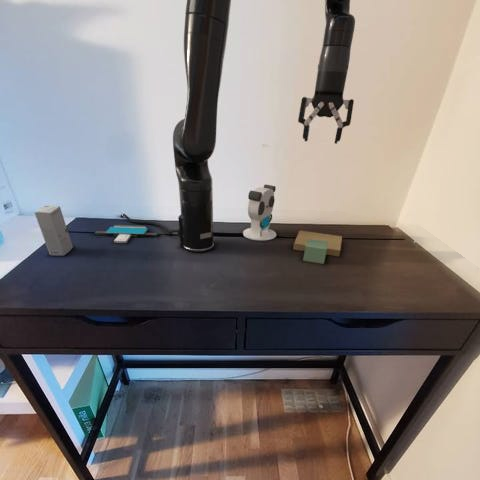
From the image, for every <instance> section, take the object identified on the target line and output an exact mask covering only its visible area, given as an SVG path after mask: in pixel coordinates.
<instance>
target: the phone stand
mask: <svg viewBox="0 0 480 480" xmlns="http://www.w3.org/2000/svg"><path fill="white" fill-rule="evenodd" d="M148 231H149V229H148V228H147V225H133V224H132V225H131V224H113V226H110V227H109V228H108V229H107V230H96V231H94V235H97V236H116V237H115V239H114V240H113V243H114V244H127V243H128V242H129V240H130V239H131V237H145V238H157V237H158V235H159V234H158V232H148Z"/></svg>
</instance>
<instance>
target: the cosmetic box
mask: <svg viewBox="0 0 480 480" xmlns="http://www.w3.org/2000/svg"><path fill="white" fill-rule="evenodd" d="M34 215H35V218H36V221H37V224H38V226H39V229H40V232H41V235H42V237H43V241H44V243H45V245H46V248H47V251H48V254H49V256H53V257H54V256H55V257H64V256H66V255H67V254H68V253H69V252H71V250H72V249H73V248H74V247H73V243H72V240H71V236H70V233H69V230H68V228H67V224H66V221H65V218H64V215H63V212H62V209H61V206H60V205H45V206H43V207H40V208H39V209H38V210H36V211H34Z"/></svg>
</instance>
